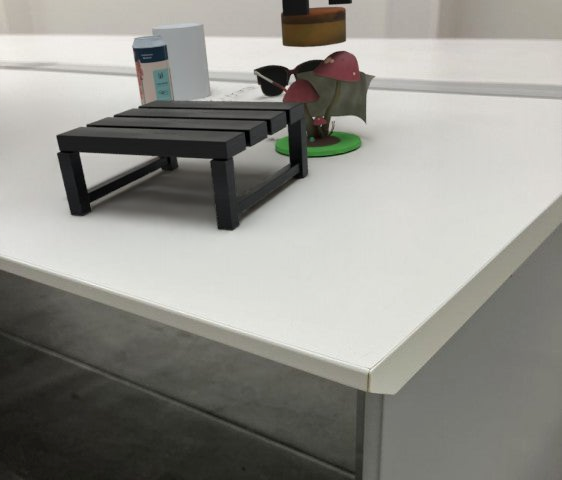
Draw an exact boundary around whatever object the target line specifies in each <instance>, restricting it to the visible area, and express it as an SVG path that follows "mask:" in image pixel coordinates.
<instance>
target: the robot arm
mask: <svg viewBox="0 0 562 480" xmlns="http://www.w3.org/2000/svg"><path fill="white" fill-rule="evenodd" d="M351 4H353V0H328V5H329V6H334V5H337V6H338V5H351ZM281 6H282V7H281V8H282V12H283V16H296V15H309V14H310V13H309V8H310V0H281Z"/></svg>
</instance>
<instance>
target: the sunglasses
mask: <svg viewBox="0 0 562 480" xmlns="http://www.w3.org/2000/svg"><path fill="white" fill-rule="evenodd" d="M324 60H325V59H309V60H306V61H304V62H301V63H299V64H297V65H296V66H295V67H294V68H293V69H290V68H288V67H287V66H284V65H279V64H268V65H264V66H260V67H257V68H255V69H253V75H255V76H256V80H257V85H258V86H260V90H261V92H262V94H263V95H264V96H266V97H271V98H274V97H279V96H281V95H282V94H283V93H284V94H285V93H286V91H287V90H288V88H286V87H287V86H288V87H289V83H290V81H291V80H290V79H291V76H292V75H293V76H294V79H295V81H297V74H298V73H303V72H309V71H314V70H315V69H316V68H317V67H318V66H319V65H320V64H321V63H322V62H323V61H324Z"/></svg>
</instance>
